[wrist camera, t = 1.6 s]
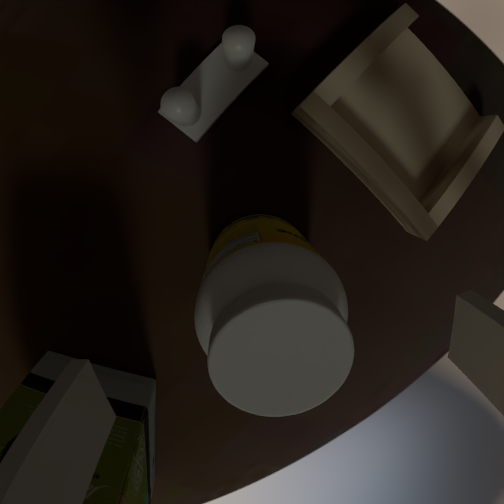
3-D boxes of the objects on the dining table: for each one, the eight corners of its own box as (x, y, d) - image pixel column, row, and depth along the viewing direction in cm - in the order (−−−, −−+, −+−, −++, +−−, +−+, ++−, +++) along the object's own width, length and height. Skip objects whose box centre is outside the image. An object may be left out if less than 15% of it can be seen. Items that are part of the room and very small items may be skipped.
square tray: (407, 231, 20) (426, 240, 17) (290, 113, 18) (298, 106, 15) (483, 128, 18) (505, 128, 15) (388, 16, 16) (405, 2, 13)
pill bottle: (325, 272, 20) (401, 374, 10) (246, 322, 21) (255, 452, 10) (273, 191, 19) (322, 228, 8) (189, 248, 19) (141, 344, 9)
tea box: (158, 475, 26) (139, 592, 12) (72, 451, 25) (30, 553, 11) (160, 374, 22) (112, 550, 8) (46, 344, 21) (-50, 468, 7)
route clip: (159, 113, 17) (141, 101, 13) (230, 38, 16) (229, 10, 12) (196, 142, 18) (186, 137, 14) (267, 66, 17) (276, 42, 13)
